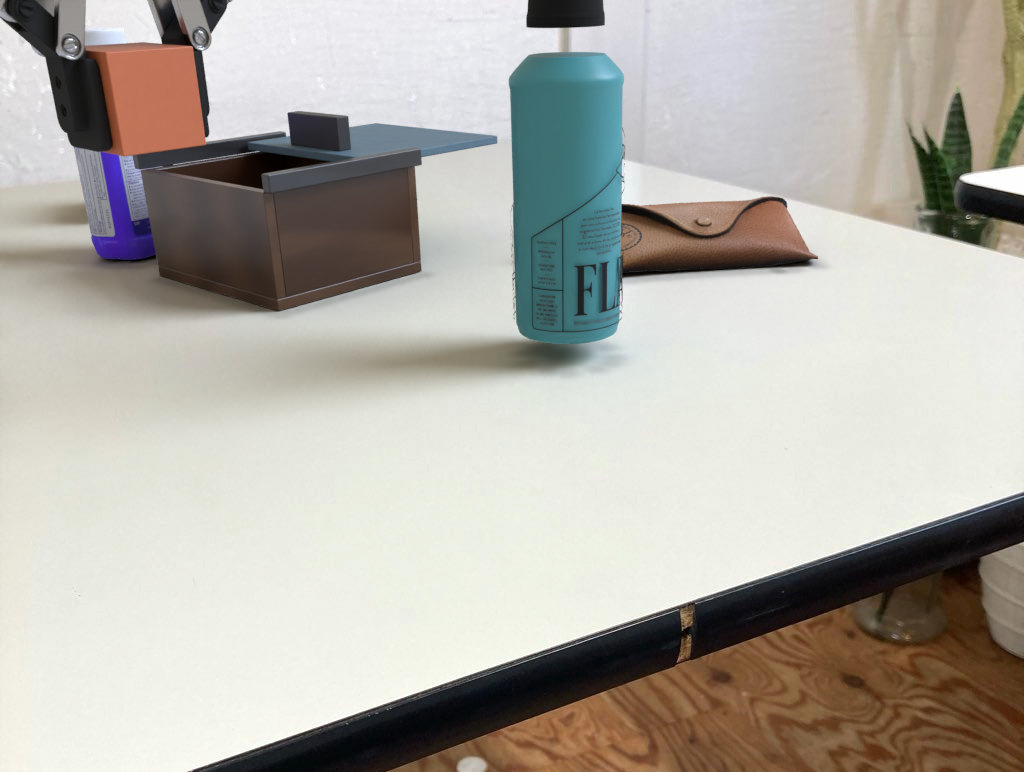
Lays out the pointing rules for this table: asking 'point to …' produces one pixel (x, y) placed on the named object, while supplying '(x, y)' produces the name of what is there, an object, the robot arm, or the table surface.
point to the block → (150, 96)
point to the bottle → (114, 189)
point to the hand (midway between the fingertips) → (140, 137)
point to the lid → (361, 138)
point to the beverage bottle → (567, 184)
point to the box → (281, 220)
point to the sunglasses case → (710, 235)
